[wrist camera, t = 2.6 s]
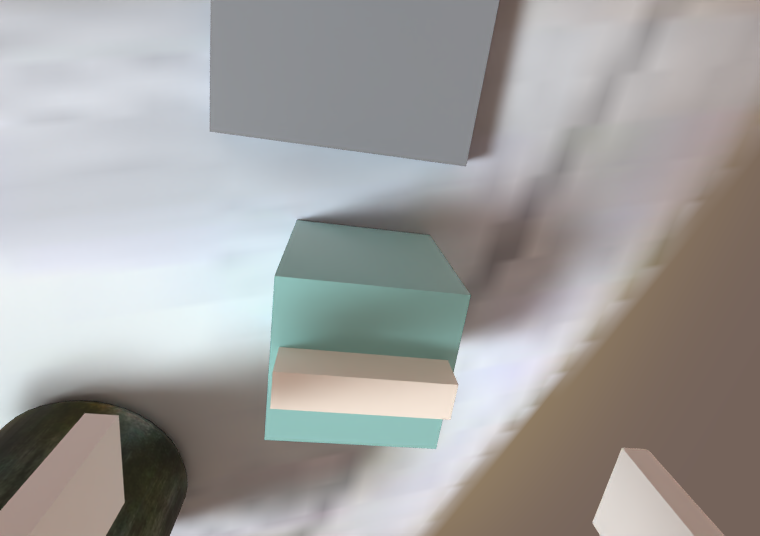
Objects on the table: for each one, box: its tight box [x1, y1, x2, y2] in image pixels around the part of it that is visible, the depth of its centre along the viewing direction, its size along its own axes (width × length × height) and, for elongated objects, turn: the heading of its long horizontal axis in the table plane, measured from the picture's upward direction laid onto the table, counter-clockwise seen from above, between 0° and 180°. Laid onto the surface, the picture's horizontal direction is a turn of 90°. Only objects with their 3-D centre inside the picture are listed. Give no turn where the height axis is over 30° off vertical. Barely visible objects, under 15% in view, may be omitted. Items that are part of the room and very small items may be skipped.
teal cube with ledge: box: [264, 220, 471, 449], centre depth 18 cm, size 7×7×9 cm
